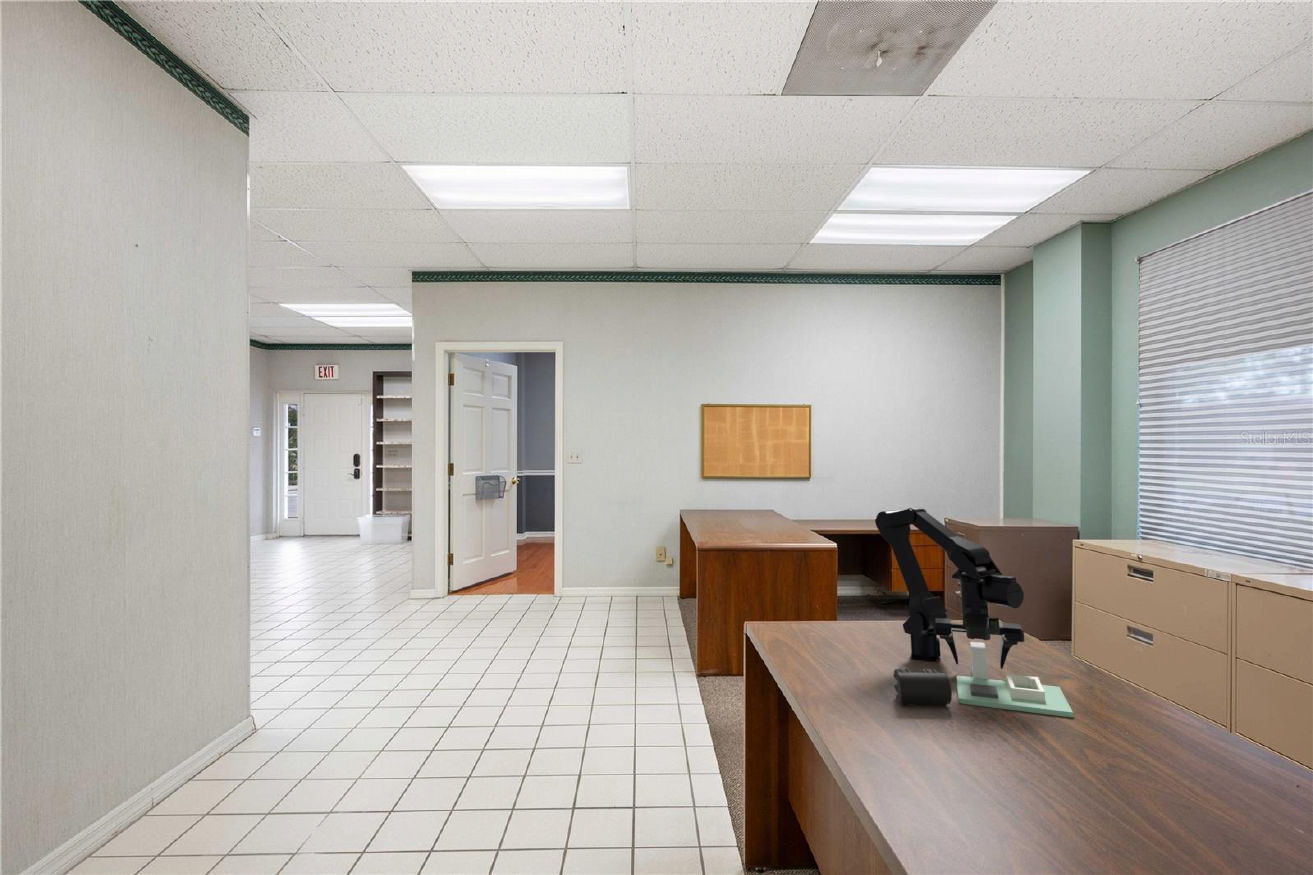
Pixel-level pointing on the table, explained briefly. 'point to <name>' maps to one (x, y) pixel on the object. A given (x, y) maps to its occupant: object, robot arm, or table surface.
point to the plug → (978, 660)
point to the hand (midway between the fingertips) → (979, 666)
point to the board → (1014, 695)
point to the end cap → (922, 688)
